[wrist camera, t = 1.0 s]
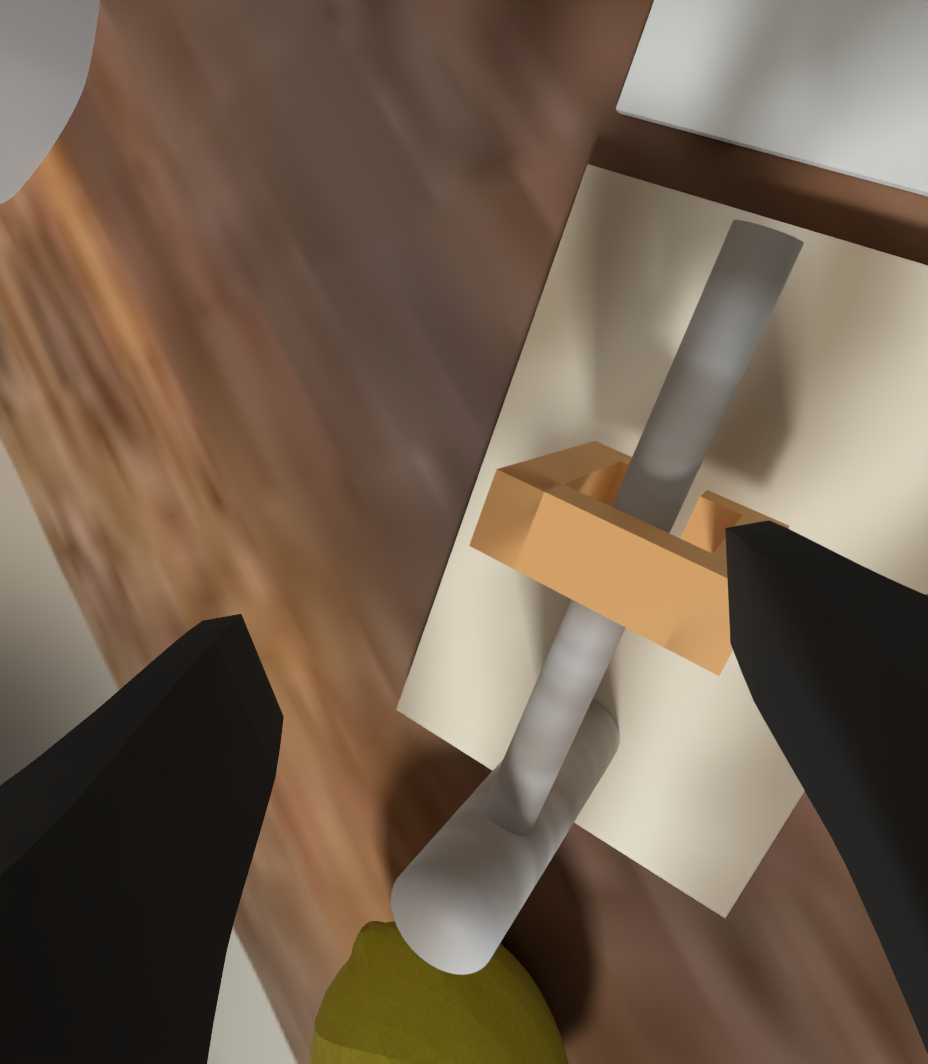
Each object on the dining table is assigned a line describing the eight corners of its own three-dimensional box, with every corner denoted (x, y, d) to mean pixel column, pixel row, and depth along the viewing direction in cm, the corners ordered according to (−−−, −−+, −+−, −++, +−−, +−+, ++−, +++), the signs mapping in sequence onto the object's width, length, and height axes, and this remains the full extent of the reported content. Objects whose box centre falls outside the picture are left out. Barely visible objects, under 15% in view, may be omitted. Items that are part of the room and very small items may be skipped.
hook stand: (1086, 319, 17) (1347, 267, 8) (729, 897, 23) (655, 1221, 14) (598, 172, 21) (412, 30, 12) (411, 698, 27) (200, 856, 18)
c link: (789, 525, 17) (762, 595, 12) (758, 585, 18) (719, 676, 13) (594, 440, 19) (496, 469, 14) (571, 497, 20) (469, 545, 14)
